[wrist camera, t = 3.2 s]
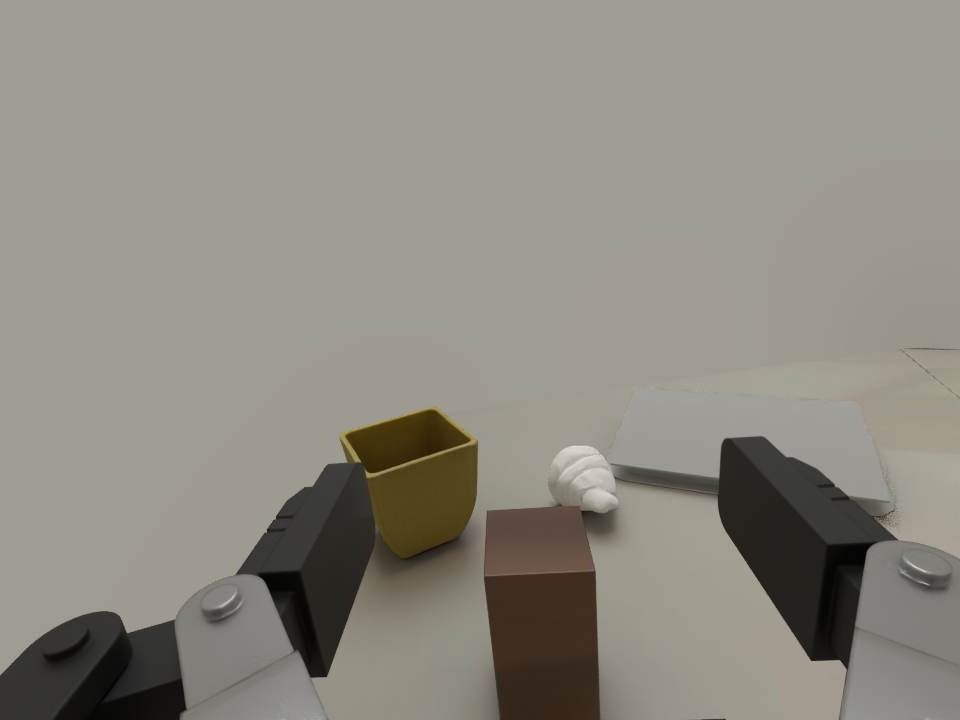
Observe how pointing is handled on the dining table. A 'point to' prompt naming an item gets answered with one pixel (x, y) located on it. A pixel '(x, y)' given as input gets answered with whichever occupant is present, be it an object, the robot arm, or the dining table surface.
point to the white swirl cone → (583, 480)
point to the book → (716, 416)
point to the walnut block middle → (542, 614)
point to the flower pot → (417, 477)
